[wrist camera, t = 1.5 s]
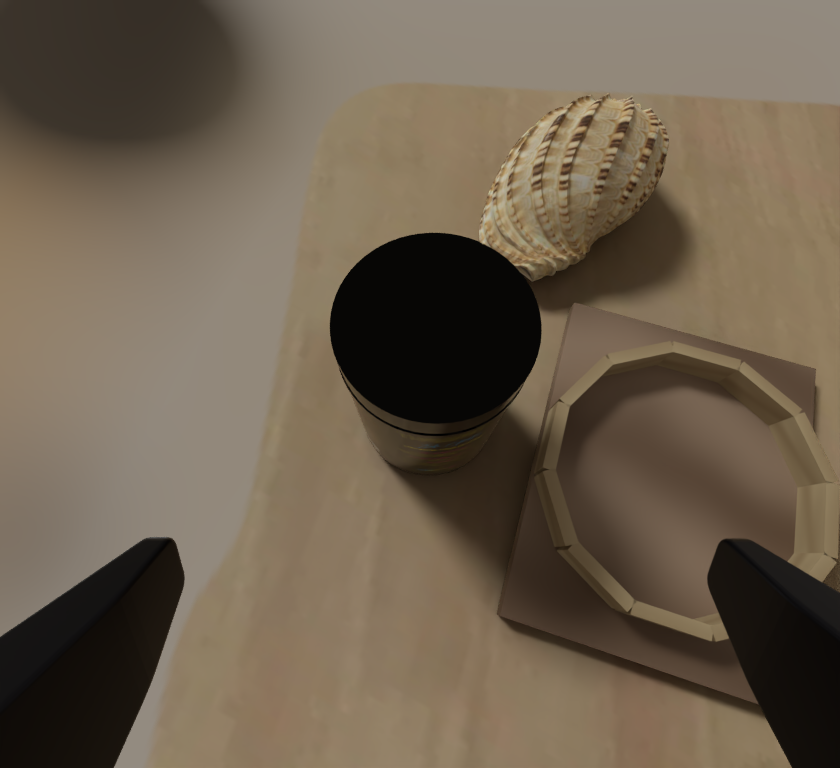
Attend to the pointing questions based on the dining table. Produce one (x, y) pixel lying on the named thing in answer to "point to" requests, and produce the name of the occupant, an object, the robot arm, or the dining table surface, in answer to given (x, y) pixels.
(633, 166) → the seashell
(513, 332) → the supplement container
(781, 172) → the dining table surface
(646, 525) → the collar board
